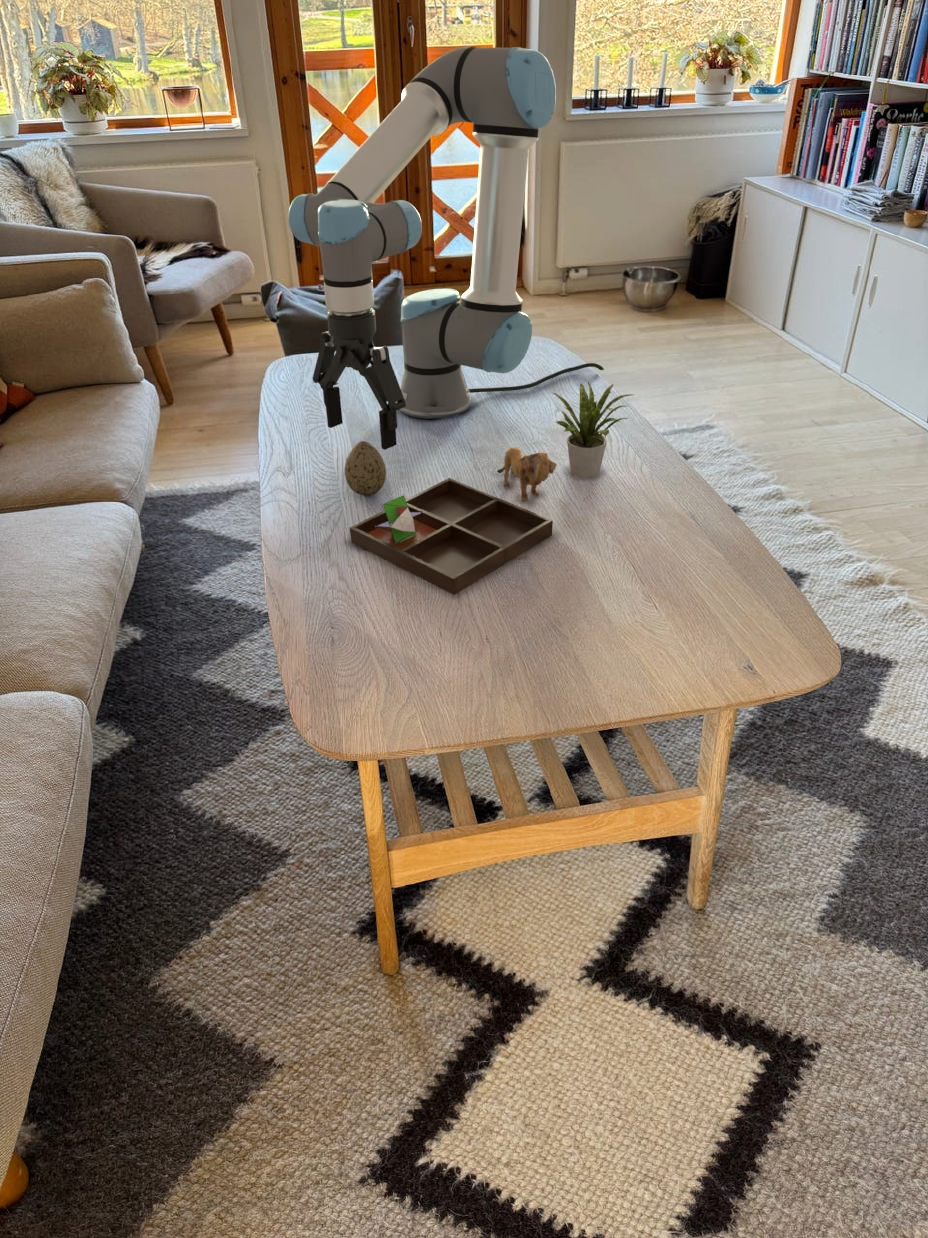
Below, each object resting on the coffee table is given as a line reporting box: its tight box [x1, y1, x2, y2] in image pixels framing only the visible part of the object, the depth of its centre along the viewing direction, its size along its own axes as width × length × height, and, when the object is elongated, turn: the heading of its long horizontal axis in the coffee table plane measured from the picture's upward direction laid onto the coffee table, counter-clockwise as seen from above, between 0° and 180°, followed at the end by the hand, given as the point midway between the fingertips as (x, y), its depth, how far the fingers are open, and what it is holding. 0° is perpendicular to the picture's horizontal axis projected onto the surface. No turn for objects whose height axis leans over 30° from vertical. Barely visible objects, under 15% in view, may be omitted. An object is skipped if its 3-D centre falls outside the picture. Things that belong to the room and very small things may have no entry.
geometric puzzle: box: [375, 494, 424, 544], centre depth 150 cm, size 7×7×8 cm
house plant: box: [550, 381, 634, 479], centre depth 166 cm, size 14×14×16 cm
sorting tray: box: [349, 477, 554, 596], centre depth 152 cm, size 23×23×3 cm
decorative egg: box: [344, 440, 387, 497], centre depth 163 cm, size 7×7×10 cm
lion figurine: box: [496, 446, 558, 502], centre depth 164 cm, size 15×5×9 cm, turn 34°
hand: (361, 435), depth 159 cm, fingers open, 13 cm apart
